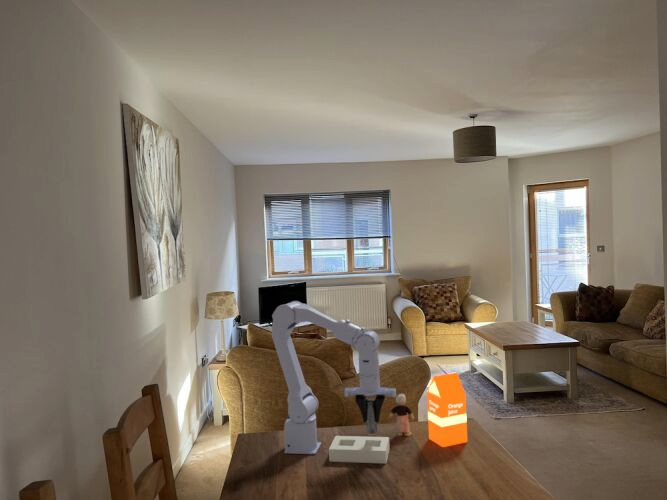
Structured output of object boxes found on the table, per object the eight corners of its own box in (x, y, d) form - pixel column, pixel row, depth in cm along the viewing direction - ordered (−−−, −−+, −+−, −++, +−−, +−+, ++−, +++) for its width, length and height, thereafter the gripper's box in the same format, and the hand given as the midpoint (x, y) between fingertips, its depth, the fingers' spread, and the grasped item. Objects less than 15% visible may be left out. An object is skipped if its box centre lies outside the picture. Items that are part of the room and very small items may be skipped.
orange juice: (428, 438, 161) (425, 373, 161) (453, 433, 164) (450, 369, 164) (442, 447, 154) (439, 379, 153) (468, 442, 157) (465, 375, 156)
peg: (365, 433, 149) (364, 401, 149) (367, 429, 152) (366, 398, 152) (375, 433, 148) (374, 402, 148) (378, 430, 151) (376, 398, 151)
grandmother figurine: (414, 431, 167) (412, 392, 167) (415, 436, 163) (413, 395, 163) (390, 432, 168) (388, 392, 168) (390, 436, 164) (388, 396, 164)
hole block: (329, 461, 148) (328, 449, 148) (336, 447, 158) (335, 435, 157) (386, 463, 145) (385, 450, 145) (389, 449, 154) (389, 437, 154)
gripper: (341, 377, 147) (344, 425, 148) (393, 377, 144) (395, 426, 145) (346, 371, 154) (348, 417, 155) (395, 371, 151) (397, 418, 152)
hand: (371, 421), depth 150 cm, fingers closed on peg, 3 cm apart
